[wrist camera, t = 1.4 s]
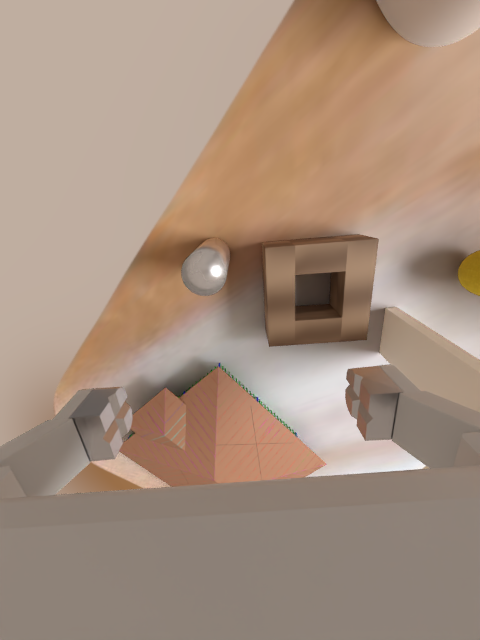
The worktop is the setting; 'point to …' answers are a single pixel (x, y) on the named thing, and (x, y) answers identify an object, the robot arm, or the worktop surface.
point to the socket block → (345, 289)
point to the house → (215, 437)
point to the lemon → (470, 273)
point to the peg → (207, 267)
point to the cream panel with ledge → (430, 359)
